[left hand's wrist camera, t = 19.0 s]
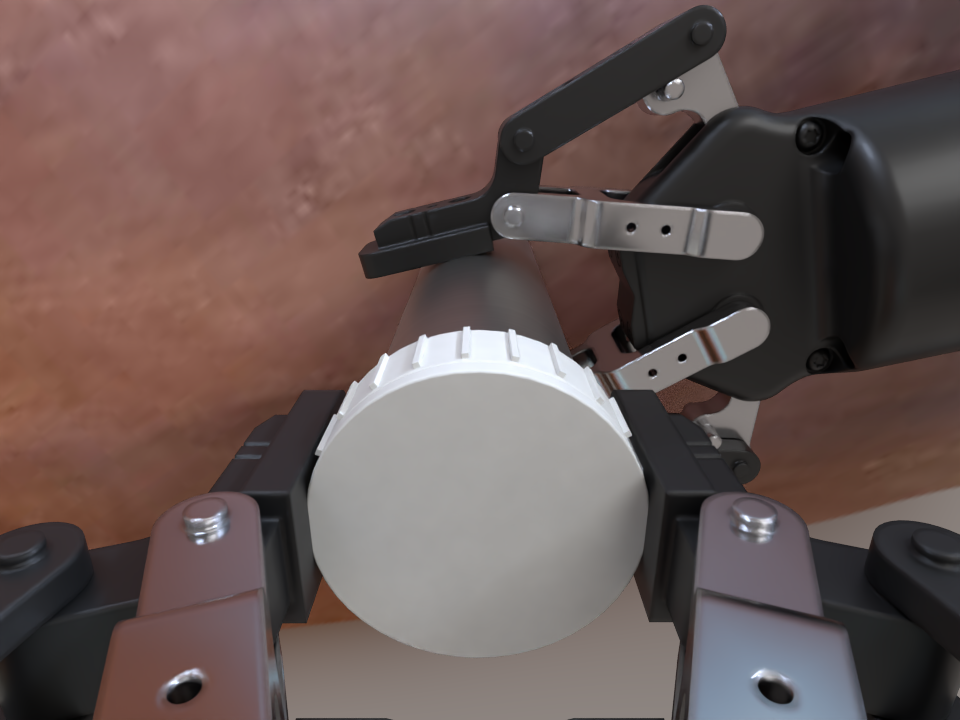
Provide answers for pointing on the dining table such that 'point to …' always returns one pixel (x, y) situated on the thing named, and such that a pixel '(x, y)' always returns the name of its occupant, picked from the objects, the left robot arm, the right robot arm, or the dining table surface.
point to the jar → (482, 298)
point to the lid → (477, 496)
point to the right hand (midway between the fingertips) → (393, 339)
